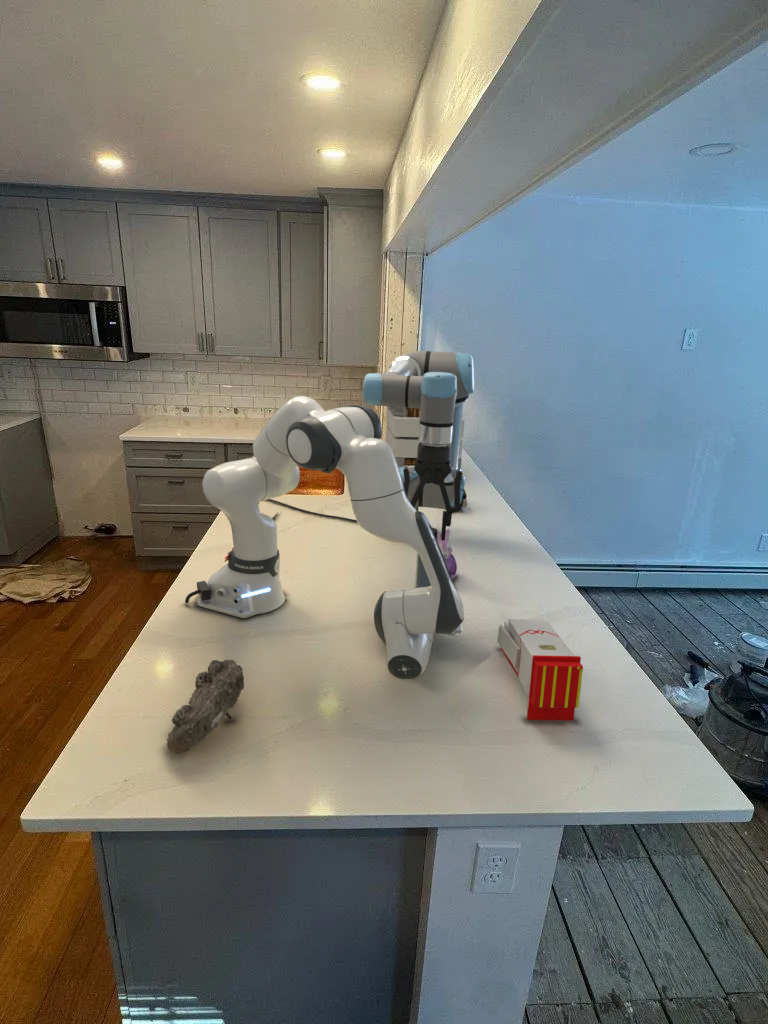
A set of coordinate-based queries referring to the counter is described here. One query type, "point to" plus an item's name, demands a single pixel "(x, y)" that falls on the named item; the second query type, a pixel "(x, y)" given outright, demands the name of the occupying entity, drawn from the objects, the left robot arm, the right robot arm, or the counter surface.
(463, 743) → the counter surface
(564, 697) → the toy
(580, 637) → the counter surface
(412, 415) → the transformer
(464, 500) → the figurine character
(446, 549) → the figurine
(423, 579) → the bottle
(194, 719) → the fossil
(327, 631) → the counter surface
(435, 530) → the cap
